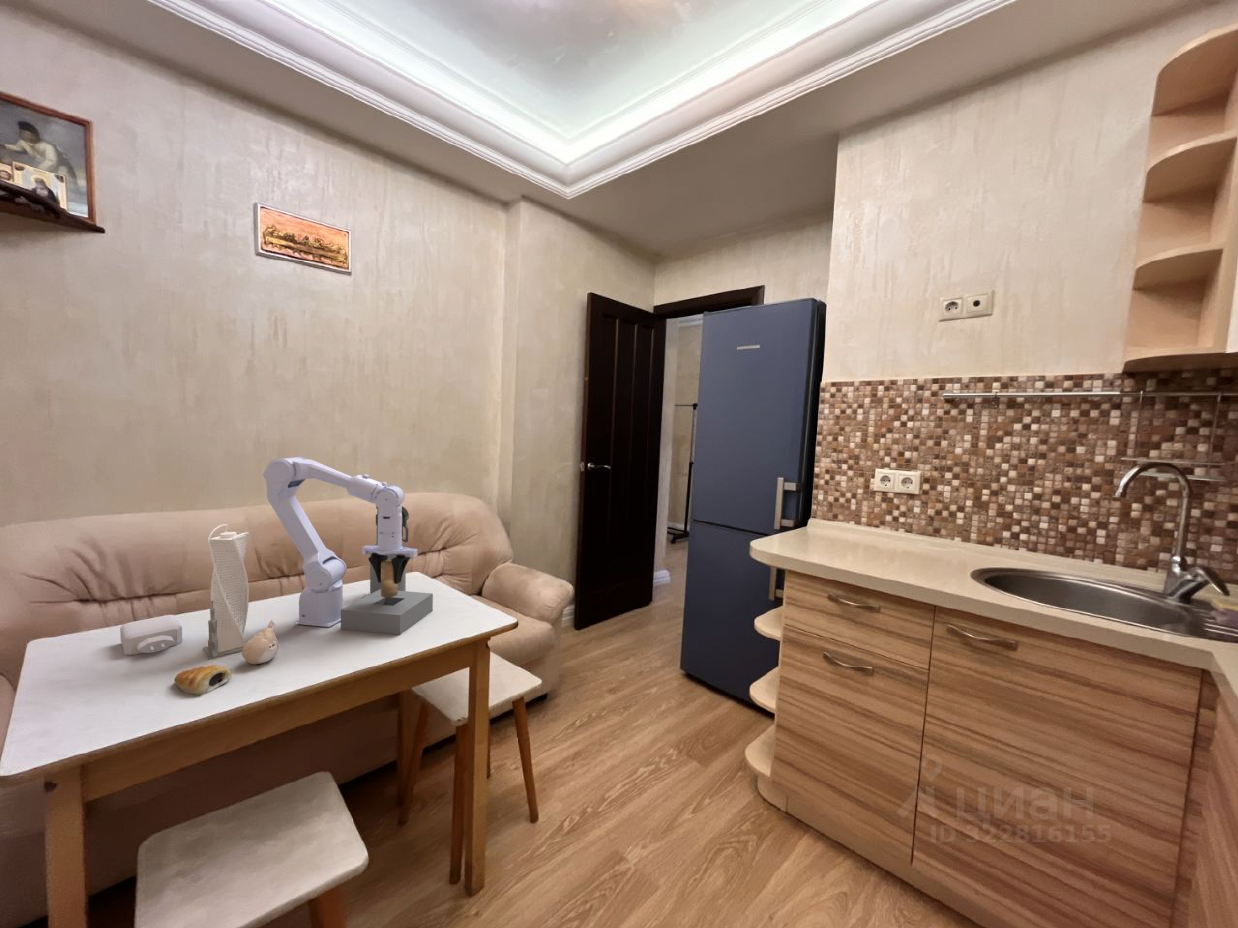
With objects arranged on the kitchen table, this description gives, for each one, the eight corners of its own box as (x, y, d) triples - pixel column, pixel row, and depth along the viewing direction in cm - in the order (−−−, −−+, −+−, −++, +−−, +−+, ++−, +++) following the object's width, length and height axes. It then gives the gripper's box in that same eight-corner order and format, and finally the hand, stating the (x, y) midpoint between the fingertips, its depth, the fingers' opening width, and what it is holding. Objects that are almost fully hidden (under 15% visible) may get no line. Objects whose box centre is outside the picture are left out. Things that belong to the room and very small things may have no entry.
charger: (127, 667, 98) (120, 644, 107) (187, 652, 105) (175, 632, 114) (126, 645, 97) (120, 624, 107) (186, 631, 104) (175, 613, 114)
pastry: (162, 690, 90) (161, 670, 90) (200, 673, 97) (200, 655, 96) (200, 698, 88) (200, 678, 88) (237, 680, 95) (237, 661, 94)
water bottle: (401, 587, 151) (402, 501, 149) (411, 596, 144) (412, 505, 142) (366, 593, 145) (367, 503, 143) (374, 602, 137) (375, 507, 135)
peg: (377, 596, 124) (377, 563, 123) (387, 591, 128) (387, 559, 127) (391, 598, 124) (391, 564, 123) (400, 592, 127) (400, 560, 127)
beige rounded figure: (284, 660, 103) (284, 624, 102) (249, 671, 97) (248, 634, 97) (272, 651, 106) (271, 616, 106) (237, 662, 101) (236, 625, 101)
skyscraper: (201, 647, 107) (199, 525, 105) (246, 636, 113) (245, 521, 111) (208, 660, 101) (206, 532, 100) (255, 648, 108) (254, 527, 106)
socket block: (340, 628, 119) (340, 609, 119) (379, 606, 135) (379, 589, 135) (400, 634, 117) (400, 615, 117) (432, 610, 133) (432, 593, 133)
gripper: (354, 533, 121) (354, 584, 122) (407, 536, 120) (406, 588, 121) (371, 527, 128) (371, 576, 129) (421, 531, 127) (421, 580, 128)
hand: (389, 582), depth 126 cm, fingers closed on peg, 4 cm apart
